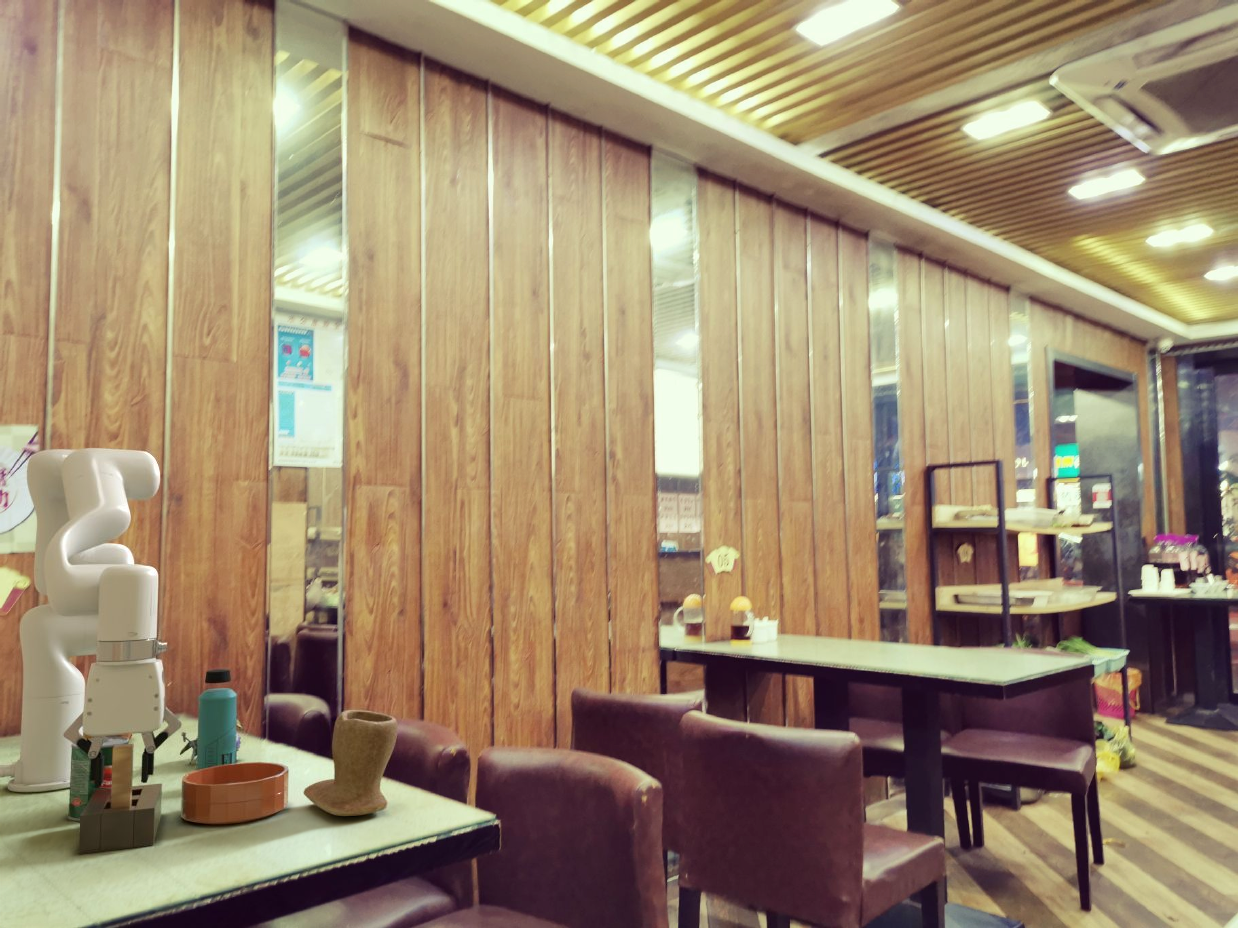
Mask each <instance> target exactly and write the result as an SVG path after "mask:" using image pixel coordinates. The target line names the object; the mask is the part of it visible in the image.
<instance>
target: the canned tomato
mask: <svg viewBox="0 0 1238 928" xmlns="http://www.w3.org/2000/svg"><path fill="white" fill-rule="evenodd" d="M93 739H94V738H92V739H89V740H90V741H91V742H93ZM129 741H130V739H129V738H126V737H105V739H104V742H103V745H102V747H101V750H102V754H103V755H104V774H103V783H102V785H101V786H100V787H97V788H95V780H93V781H90V766H91V758H89V756H88V755H87V754H86V753H85V752H84V751H82V750H81V749H80V748H79V747H78V746H77V745H76V744H74V743H73V744H72V745H71V747H72V752H71V772H70V787H69V794H68V795H69V799H68V816H67V818H68V819H69V820H70V821H75V822H80V815H81V814H82V812H83V810H84V809H85V807H86V805H87V803H88V802H89V800H90V798H91V797H92V795H93V793H94V791H95V790H100V789H110V788H111V786H112V759H113V747H114V746H115V745H121V744H129Z"/></svg>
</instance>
